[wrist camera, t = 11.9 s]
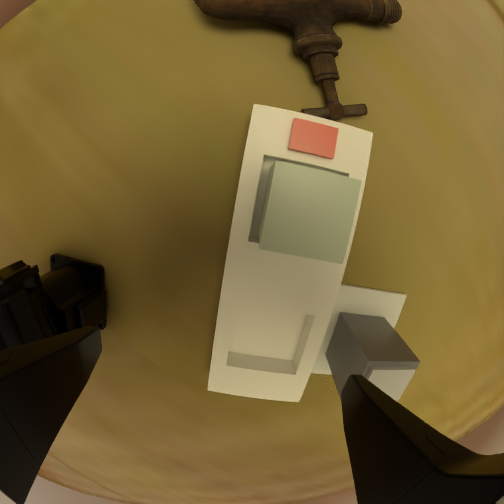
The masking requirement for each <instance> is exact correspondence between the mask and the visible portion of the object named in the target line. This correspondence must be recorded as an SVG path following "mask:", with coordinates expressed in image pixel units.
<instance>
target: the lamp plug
mask: <svg viewBox="0 0 504 504" xmlns="http://www.w3.org/2000/svg"><path fill="white" fill-rule="evenodd" d="M360 187H361V180H358V179H354V178H350V177H347V176H343V175H339V174H335V173H331V172H327V171H323V170H319V169H314V168H310V167H306V166H301V165H296V164H292V163H287V162H282V161H277V160H276V161H275V162H274V163H273V165H272V166H271V167H270V172H269V177H268V182H267V188H266V193H265V198H264V204H263V209H262V215H261V220H260V225H259V249H261V250H267V251H273V252H278V253H284V254H289V255H295V256H300V257H306V258H311V259H317V260H322V261H328V262H333V263H338V264H343V261H344V257H345V254H346V250H347V246H348V242H349V237H350V233H351V229H352V225H353V220H354V216H355V211H356V207H357V202H358V197H359V192H360Z"/></svg>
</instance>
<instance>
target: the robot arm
mask: <svg viewBox="0 0 504 504" xmlns="http://www.w3.org/2000/svg"><path fill="white" fill-rule="evenodd" d="M54 258H55V259H54ZM50 262H51V271H50V272H48V273H46V274H44V275H43V276H41V277H40V276H39V273H38V272H39V269H38V266H37V265H35V266H31V267H30V265H26V264H25V263H24V262H23V261H22V260H20V261H18V262H15V263H13V264H11V265H9V266H7V267H5V268H3V269H1V270H0V491H1V492H2V493H4V494H5V495H6V496H7V497H9V498H10V499H11V500H12V501H14V502H15V503H16V504H24V503H25V500H26V498H27V496H28V493H29V491H30V489H31V487H32V484H33V482H34V480H35V478H36V476H37V474H38V472H39V470H40V466H41V465H42V463H43V461H44V459H45V457H46V455H47V453H48V451H49V449H50V447H51V445H52V443H53V442H54V440H55V438H56V436H57V434H58V432H59V430H60V429H61V427H62V425H63V423H64V421H65V420H66V418H67V416H68V414H69V412H70V411H71V409H72V407H73V406H74V404H75V402H76V400H77V399H78V397H79V395H80V394H81V392H82V390H83V389H84V387H85V385H86V384H87V381H88V379H89V377H90V375H91V373H92V371H93V369H94V367H95V364H96V362H97V360H98V358H99V356H100V354H101V351H102V343H101V335H100V330H103V329H104V328H105V327H106V295H105V290H104V269H103V267H102V266H100V265H97V264H93V263H89V262H85V261H81V260H78V259H74V258H70V257H66V256H62V255H59V254H53V255H51V257H50ZM97 269H98V270H99V272H100V273H98V271H97ZM100 323H101V324H102V325H101V324H100ZM99 329H100V330H99ZM341 403H342V413H343V424H344V432H345V437H346V442H347V447H348V452H349V457H350V462H351V468H352V473H353V479H354V484H355V490H356V496H357V502H358V504H504V453H501V454H494V455H480V454H477V453H475V452H473V451H471V450H469V449H467V448H465V447H464V446H462V445H460V444H458V443H456V442H455V441H453V440H451V439H450V438H448V437H446V436H445V435H443V434H441V433H440V432H438V431H437V430H435V429H434V428H432V427H431V426H430V425H428V424H427V423H425V422H424V421H423V420H421V419H420V418H419V417H417V416H416V415H414V414H413V413H412V412H410V411H409V410H408V409H406V408H405V407H403V406H402V405H401V404H399V403H398V402H397V401H395V400H394V399H393V398H391V397H390V396H389V395H387V394H386V393H385V392H383V391H382V390H381V389H379V388H378V387H377V386H375V385H374V384H373V383H371V382H370V381H369V380H367V379H366V378H365V377H364V376H362V375H360V374H351V375H350V376H349V377H348V379H347V381H346V383H345V385H344V387H343V389H342V392H341Z"/></svg>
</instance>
